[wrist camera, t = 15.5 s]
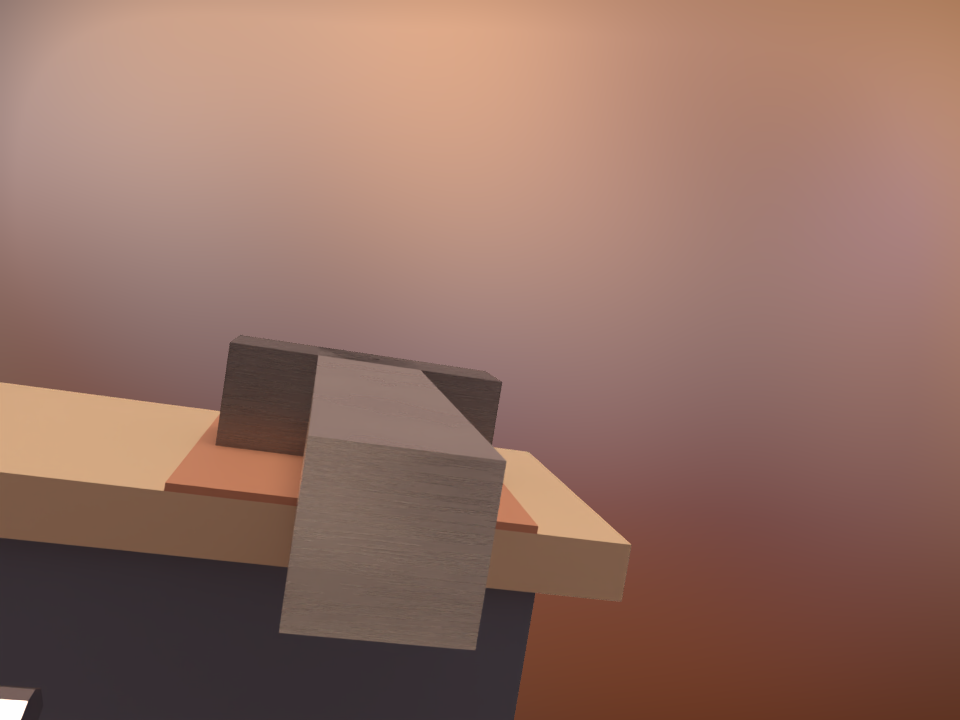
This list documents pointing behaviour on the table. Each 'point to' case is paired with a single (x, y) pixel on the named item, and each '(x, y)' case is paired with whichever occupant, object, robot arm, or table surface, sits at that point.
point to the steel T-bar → (375, 486)
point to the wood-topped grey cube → (234, 576)
